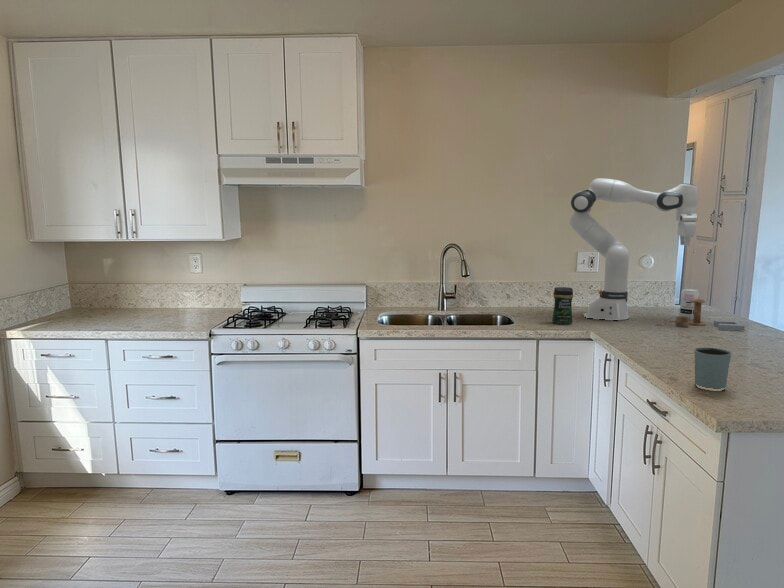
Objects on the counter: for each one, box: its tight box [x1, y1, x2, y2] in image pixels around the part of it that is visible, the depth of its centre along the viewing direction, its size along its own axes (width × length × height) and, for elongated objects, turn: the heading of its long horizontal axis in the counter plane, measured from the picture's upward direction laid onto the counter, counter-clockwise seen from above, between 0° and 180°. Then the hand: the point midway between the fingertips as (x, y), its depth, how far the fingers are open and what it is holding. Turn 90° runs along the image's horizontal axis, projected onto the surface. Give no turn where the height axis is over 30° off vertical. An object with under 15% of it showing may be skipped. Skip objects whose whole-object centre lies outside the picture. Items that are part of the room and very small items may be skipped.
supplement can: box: [679, 288, 700, 321], centre depth 277 cm, size 8×8×15 cm
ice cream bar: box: [668, 315, 690, 329], centre depth 260 cm, size 8×3×5 cm, turn 72°
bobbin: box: [688, 298, 706, 327], centre depth 264 cm, size 7×7×12 cm
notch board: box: [713, 319, 746, 331], centre depth 255 cm, size 10×11×2 cm
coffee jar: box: [552, 286, 574, 325], centre depth 272 cm, size 10×8×19 cm
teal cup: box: [693, 347, 732, 389], centre depth 172 cm, size 10×10×12 cm
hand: (684, 245), depth 265 cm, fingers open, 8 cm apart
